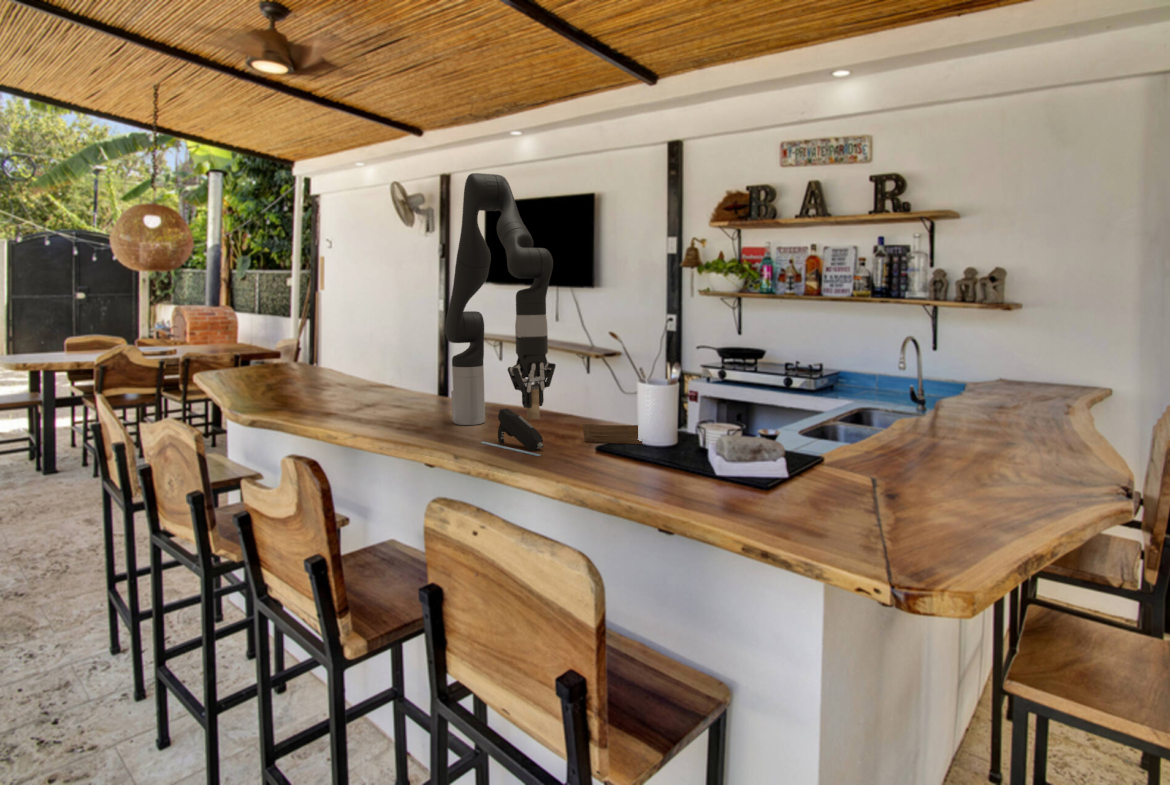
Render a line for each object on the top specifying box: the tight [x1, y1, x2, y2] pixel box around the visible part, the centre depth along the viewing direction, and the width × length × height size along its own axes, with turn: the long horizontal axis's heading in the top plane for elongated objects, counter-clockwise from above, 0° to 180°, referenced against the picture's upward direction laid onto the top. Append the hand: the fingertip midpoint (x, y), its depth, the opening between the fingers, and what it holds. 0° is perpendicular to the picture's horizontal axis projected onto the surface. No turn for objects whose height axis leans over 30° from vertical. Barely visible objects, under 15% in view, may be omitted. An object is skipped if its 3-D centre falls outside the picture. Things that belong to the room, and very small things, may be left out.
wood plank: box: [582, 423, 643, 445], centre depth 178 cm, size 15×2×5 cm, turn 80°
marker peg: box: [526, 383, 541, 421], centre depth 164 cm, size 3×3×8 cm
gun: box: [497, 407, 544, 452], centre depth 175 cm, size 3×16×10 cm, turn 50°
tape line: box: [480, 441, 542, 457], centre depth 172 cm, size 22×1×1 cm, turn 47°
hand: (532, 406), depth 164 cm, fingers closed on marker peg, 3 cm apart
